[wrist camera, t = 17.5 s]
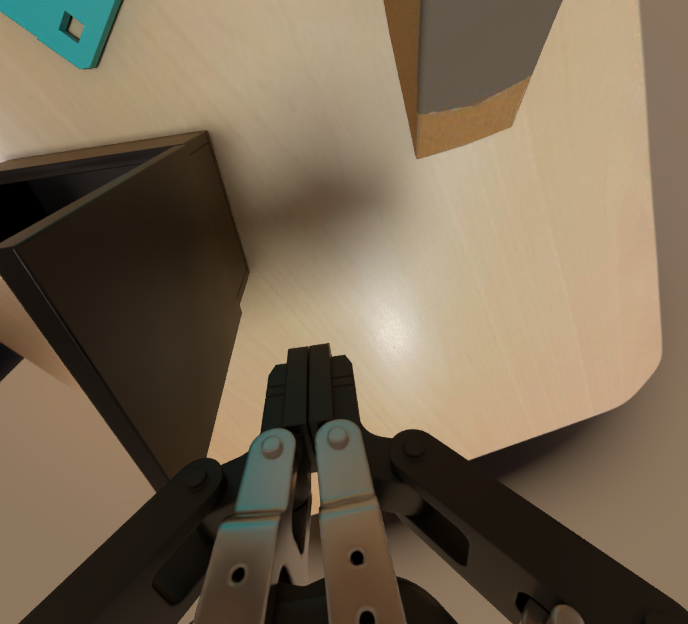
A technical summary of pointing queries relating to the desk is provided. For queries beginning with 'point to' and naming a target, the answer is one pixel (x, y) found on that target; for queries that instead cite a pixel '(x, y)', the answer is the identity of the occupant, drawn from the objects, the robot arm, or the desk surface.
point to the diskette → (52, 19)
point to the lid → (136, 307)
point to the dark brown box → (101, 168)
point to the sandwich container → (465, 64)
